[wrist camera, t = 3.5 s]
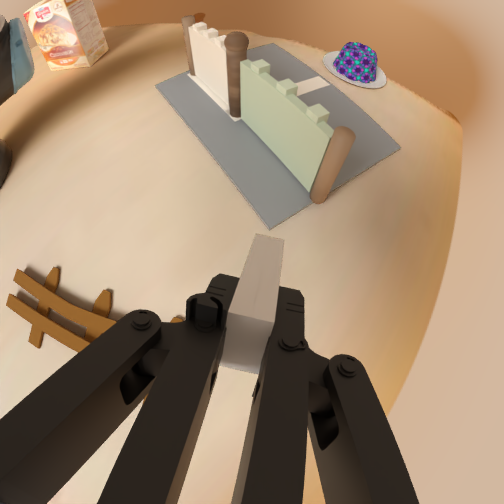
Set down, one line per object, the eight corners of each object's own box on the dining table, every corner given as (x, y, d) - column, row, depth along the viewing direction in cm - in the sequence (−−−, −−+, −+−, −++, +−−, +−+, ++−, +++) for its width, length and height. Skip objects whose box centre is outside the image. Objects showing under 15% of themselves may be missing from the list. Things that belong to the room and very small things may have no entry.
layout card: (155, 87, 37) (155, 84, 36) (273, 44, 41) (273, 42, 41) (269, 230, 29) (269, 228, 29) (399, 149, 34) (401, 147, 33)
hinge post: (224, 113, 35) (218, 31, 22) (240, 106, 35) (240, 26, 23) (235, 123, 34) (231, 39, 22) (251, 116, 34) (253, 33, 22)
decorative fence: (175, 417, 24) (202, 326, 27) (170, 422, 22) (199, 325, 25) (10, 324, 25) (32, 255, 28) (1, 322, 24) (23, 251, 27)
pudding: (395, 95, 38) (405, 74, 33) (333, 87, 38) (340, 62, 33) (370, 58, 42) (378, 39, 37) (314, 51, 41) (319, 29, 36)
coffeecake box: (50, 71, 41) (21, 14, 23) (69, 54, 44) (45, -3, 25) (90, 67, 40) (61, -4, 22) (110, 49, 42) (87, -20, 24)
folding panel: (238, 119, 33) (236, 53, 23) (250, 114, 34) (252, 49, 24) (316, 206, 29) (345, 145, 20) (329, 198, 30) (360, 137, 20)
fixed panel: (188, 74, 38) (179, 18, 27) (199, 70, 38) (191, 14, 27) (226, 111, 35) (222, 44, 24) (238, 106, 35) (236, 39, 24)
